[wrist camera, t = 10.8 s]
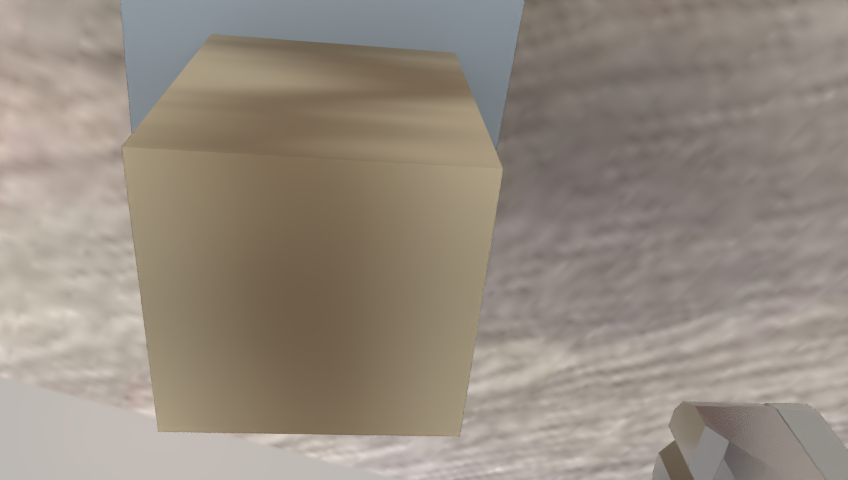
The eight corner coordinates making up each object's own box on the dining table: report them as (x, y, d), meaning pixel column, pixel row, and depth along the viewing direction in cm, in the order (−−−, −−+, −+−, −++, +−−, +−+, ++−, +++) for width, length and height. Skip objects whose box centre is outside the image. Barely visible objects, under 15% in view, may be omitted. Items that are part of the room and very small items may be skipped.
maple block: (454, 52, 15) (503, 168, 10) (431, 255, 17) (460, 436, 12) (211, 34, 14) (120, 146, 9) (223, 246, 17) (157, 432, 11)
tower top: (490, -52, 18) (528, -18, 14) (447, 215, 22) (466, 306, 18) (177, -92, 17) (114, -69, 13) (189, 195, 21) (144, 285, 17)
